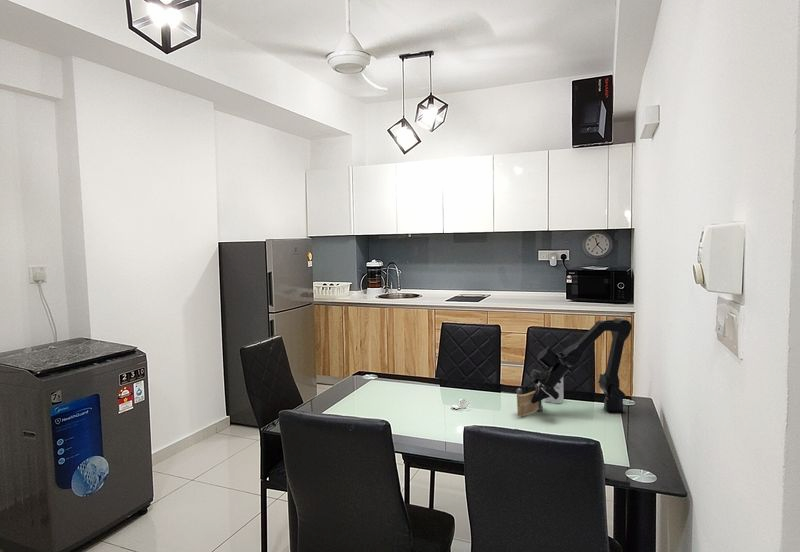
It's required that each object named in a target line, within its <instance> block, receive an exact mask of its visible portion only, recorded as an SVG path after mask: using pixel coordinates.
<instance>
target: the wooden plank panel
mask: <svg viewBox="0 0 800 552" xmlns="http://www.w3.org/2000/svg"><path fill="white" fill-rule="evenodd" d="M535 391H536V390H533V391H530V392H527V393H524V394H522V395H521V394H519V395H517V394H516V403H517V404H516V405H517V406H516V407H517V408H516V409H517V410H516V411H517V416H519V417H524V416H525V415H528V414H531V413H534V412H538V411H537V410H539V407H538V406H543V405H542V402H543V400H541V401H538V402H536V403H534V404H533V403H532V402H531V401H532V398H533V396H534V393H535Z"/></svg>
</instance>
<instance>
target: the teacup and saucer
mask: <svg viewBox="0 0 800 552" xmlns="http://www.w3.org/2000/svg"><path fill="white" fill-rule="evenodd" d="M458 402H459V405H457V404H452V405H450V407H451V409H453V408H459V409H461V408H465V407H466V408H468V407H467V406H470V405H469V403H470V402H469V401H468V400H466V399H465V398H461V399H459V401H458ZM467 403H468V404H467ZM466 405H467V406H466ZM459 406H460V407H461V408H460V407H459ZM466 408H465V409H466Z"/></svg>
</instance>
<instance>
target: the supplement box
mask: <svg viewBox="0 0 800 552" xmlns="http://www.w3.org/2000/svg"><path fill="white" fill-rule="evenodd" d="M560 381H561V383H558V384H557V385H556V386H555V387H554V389H555V391H556V392H558V393H559V397H558V399H557V400H556V399H554V398H553V397H552V396H551V395H549V396H550V397H548V398H545V399H544V403H553V404H562V403H563V401H564V376H563V377H562V379H561V380H560Z"/></svg>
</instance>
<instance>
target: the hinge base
mask: <svg viewBox="0 0 800 552" xmlns="http://www.w3.org/2000/svg"><path fill="white" fill-rule="evenodd" d="M538 407H539V410H537V411H536V412H540V413H541V412H544V406H543V405H542V406H538Z"/></svg>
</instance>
